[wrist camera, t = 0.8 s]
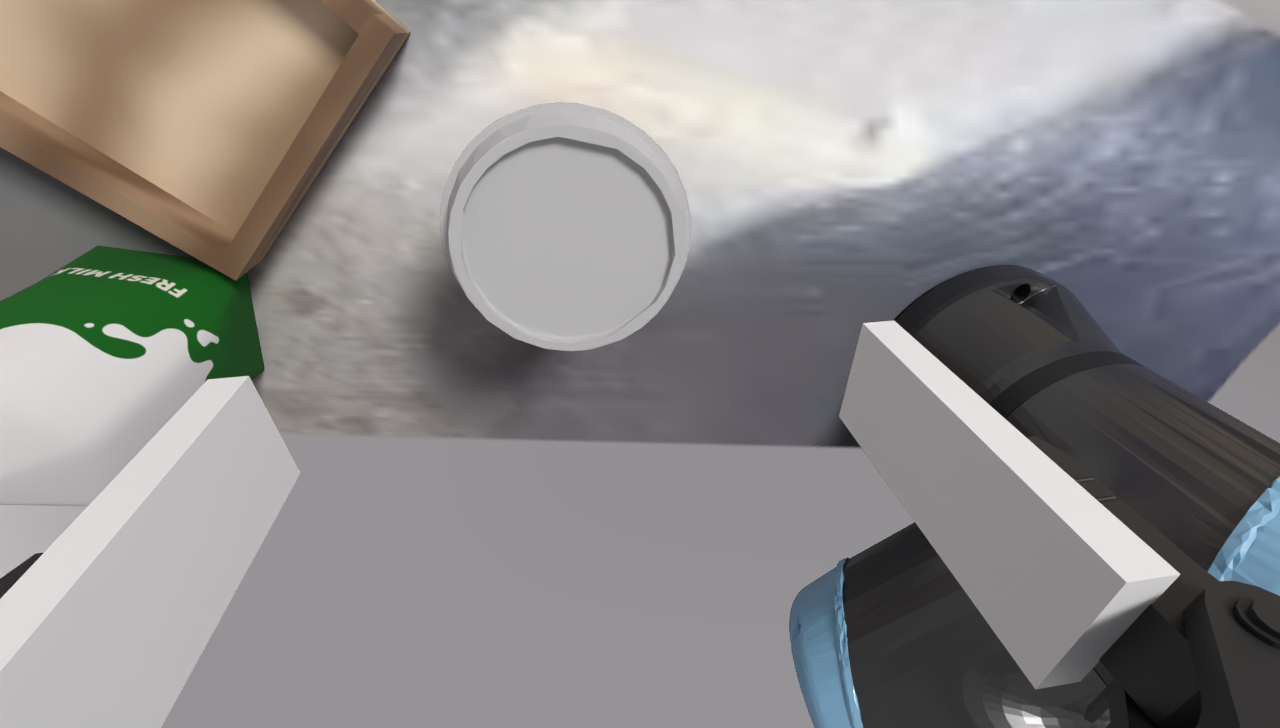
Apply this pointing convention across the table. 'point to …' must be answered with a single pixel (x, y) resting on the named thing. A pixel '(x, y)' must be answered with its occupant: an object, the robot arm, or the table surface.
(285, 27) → the wooden tray
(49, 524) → the milk carton
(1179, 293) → the table surface
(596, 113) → the disposable coffee cup
